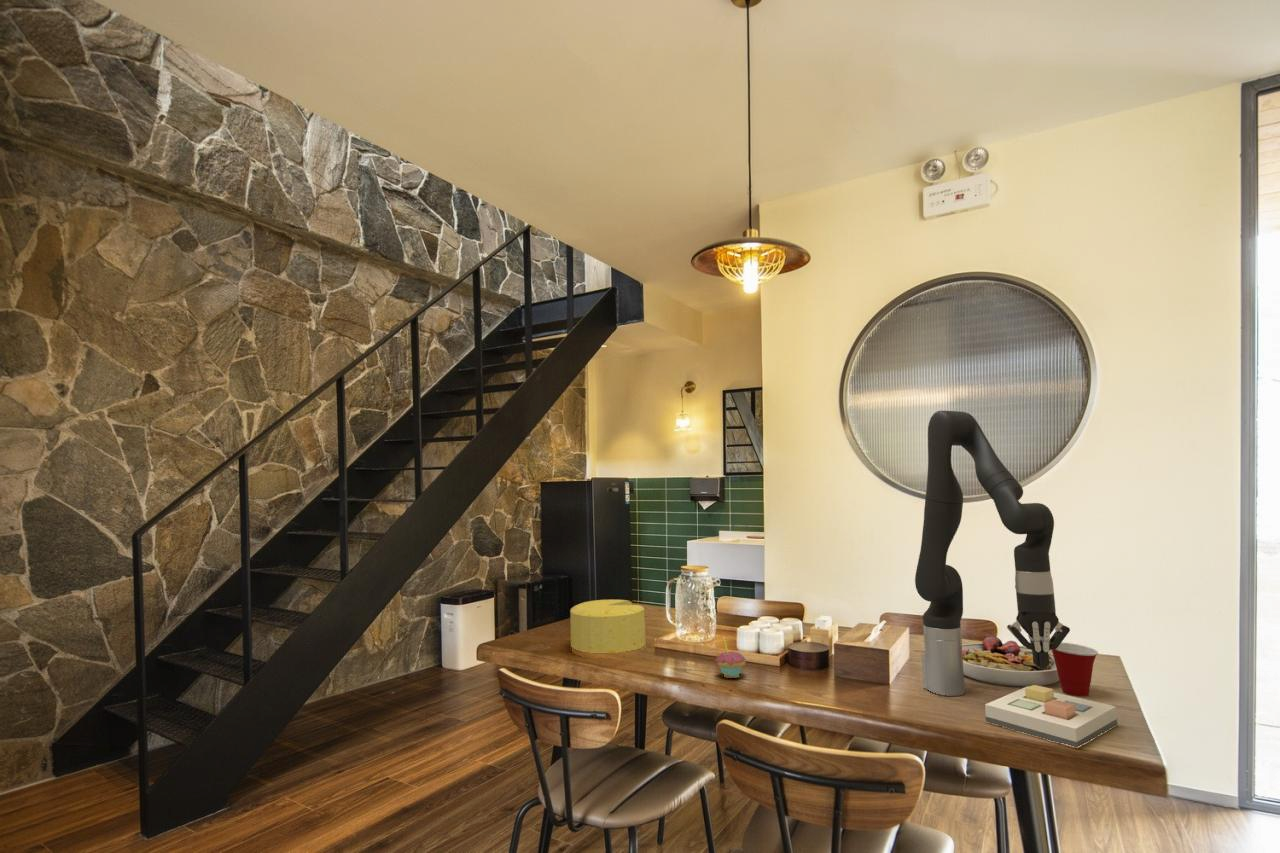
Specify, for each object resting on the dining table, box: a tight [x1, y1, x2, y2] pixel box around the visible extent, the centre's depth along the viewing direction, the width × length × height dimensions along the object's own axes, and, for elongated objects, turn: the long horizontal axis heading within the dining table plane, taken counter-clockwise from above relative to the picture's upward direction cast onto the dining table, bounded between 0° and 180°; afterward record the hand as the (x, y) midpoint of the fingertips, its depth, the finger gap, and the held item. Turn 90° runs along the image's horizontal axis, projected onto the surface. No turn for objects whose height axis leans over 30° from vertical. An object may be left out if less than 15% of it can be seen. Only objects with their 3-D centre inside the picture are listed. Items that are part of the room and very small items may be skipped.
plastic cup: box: [1051, 641, 1099, 698], centre depth 171 cm, size 11×11×12 cm
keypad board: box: [984, 686, 1118, 747], centre depth 151 cm, size 19×21×4 cm
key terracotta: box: [1044, 699, 1076, 720], centre depth 146 cm, size 4×4×2 cm
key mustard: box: [1024, 685, 1055, 703], centre depth 156 cm, size 4×4×2 cm
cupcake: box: [715, 634, 747, 676], centre depth 193 cm, size 9×8×12 cm
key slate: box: [1066, 701, 1090, 712], centre depth 150 cm, size 4×4×2 cm
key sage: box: [1010, 700, 1039, 711], centre depth 152 cm, size 4×4×2 cm
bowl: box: [962, 635, 1060, 688], centre depth 190 cm, size 30×30×8 cm
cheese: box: [569, 599, 646, 653], centre depth 229 cm, size 26×26×15 cm
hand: (1041, 667), depth 149 cm, fingers closed
